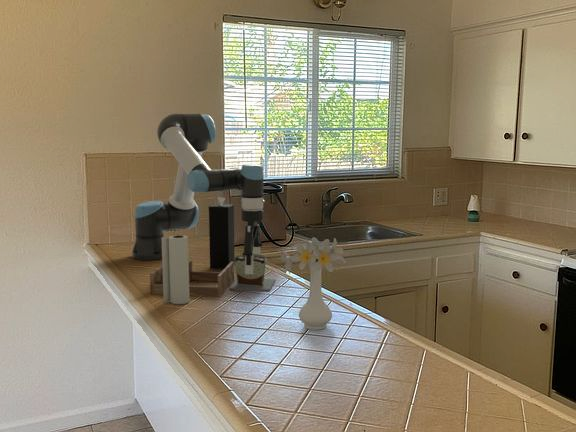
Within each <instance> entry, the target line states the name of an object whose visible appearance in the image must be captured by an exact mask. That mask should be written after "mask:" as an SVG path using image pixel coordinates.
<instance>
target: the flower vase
mask: <svg viewBox="0 0 576 432" xmlns="http://www.w3.org/2000/svg"><path fill="white" fill-rule="evenodd" d="M310 240H311V241H310ZM330 241H331V240H330V239H327V238H326V239H324V240H323V241H321V243H320V240H318V239H317V238H316V237H314V236H313V237H311V239H308V241H307V243H306V245H305V247H304V246H303V244H302V243H297V244H296V251H297V252H298V254H293V255H292V256H290V255H289V253H287V252H286V251H285V250H284V249H283V248H282V247H280V251H281V252H282V253H280V255H279V256H280V258H281V260H282V261H284V262H285V264H284V270H285V272H286V273H287V272H288V274H289V275H290V274H291V270H292V265H293V262H294V264H296V263H298V262H299V265H298V268H299V270H301V271H302V270H304V269H305V268H306V266H307V264H308V266H309V271H310V272H309V273H310V282H309V295H308V298H307V301H306V302H305V304H304V305H303V306H302V307H301V308H300V310H299V313H298V319H299V320H300V321H301V323H302V324H304V325H303V326H304V327H305V328H306V329H307V330H311V331H321V330H325V329H326V328H327V324H328V323H330V322H331V320H332V318H333V313H332V309H330V307H329V306H328V305H327V303H325V300H324V298H323V294H322V291H323V290H322V272H323V271H322V269H323V267H324V268H325V269H326V271H328V272H329V273H333V272H334V265H333V264H332V263H333V262H335V261H338V260H340V261H341V262H343V263H344V264H346V263H347V262H346V260H345V258H344V257H343V256H342V255H343V254H344V248H342V247H340V246H339V247H338V241H337V239H336V237H334V238H333V242H331V246H330V245H329V244H330ZM310 242H311V243H310Z"/></svg>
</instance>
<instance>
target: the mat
mask: <svg viewBox="0 0 576 432" xmlns="http://www.w3.org/2000/svg"><path fill="white" fill-rule="evenodd" d="M276 281H277V280H276V278H264V284H263V287H261V286H250V285H239V284H237V278H236V280H234V281H233V283H232V284H231V285H230V286H229V287H228V290H229V291H253V292H254V291H255V292H256V291H257V292H271V290H272V288H273V286H274V284H275V283H276Z"/></svg>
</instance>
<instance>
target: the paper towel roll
mask: <svg viewBox="0 0 576 432" xmlns="http://www.w3.org/2000/svg"><path fill="white" fill-rule="evenodd" d="M161 261H162V262H161V263H162V264H161V266H162V267H163V294H162V295H163V303H168V302H170V303H171V304H174V305H184V304H188V303H190V295H189V286H190V282H189V262H188V261H189V236H188V235H180V234H179V235H170V236H169V235H168V236H164V237H163V238H162V259H161Z"/></svg>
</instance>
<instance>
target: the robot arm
mask: <svg viewBox="0 0 576 432" xmlns="http://www.w3.org/2000/svg"><path fill="white" fill-rule="evenodd" d="M216 129H217V128H216V125H215V121H214V119H213V118H212V117H211V116H210V115H209V114H206V113H205V114H203V113H171V114H169V115H167V116H165V117H164V118H163V119H162V120H161V121H160V123H159V124H158V127H157V131H156V135H157V138H158V141H159V142H160V144H161V146H163V148H164V149H167V150H169V151H170V152H171V154H172V155H173V157H174V158H175V160H176V161H177V163H178V166H177V167H178V168H177V172H176V178H175V182H174V189H173V192H172V193H173V194H172V195H171V196H169V198H168V201H167V203H163V201H161V200H150V201H144V202H141V203H139V204H136V206H135V207H134V225H135V230H134V231H135V241H134V244H133V248H132V250H131V252H132V253H131V258H132V259H134V260H139V261H154V260H155V261H156V260H162V238H163V237H165V235H164V234H165V233H164V232H167V231H176V230H187V229H192V228H193V227H195V226H196V225H197V223H198V220H199V216H200V215H199V211H200V210H199V206H198V204H197V203H196V200H195V199H194V197H195V193H207V192H223V191H237V190H238V191H241V209H242V210H241V220H242V221H243V222H247V225H245V227H244V228H245V232H244V233H245V236H244V244H243V245H244V247H243V252H242V254H243V255H244V256H245V274H253V254H259V255H261V247H263V243H262V239H261V229H260V227H261V226H260V222H262V221H263V220H264V210H263V209H264V203H266V200H265V199H264V178H265V177H264V167H263V166H262V165H261V164H255V163H253V164H252V163H250V164H249V163H248V164H242V166H241V168H239V167H230V168H229V167H228V168H224V169H223V168H221V169H211V168H210V167H209V165H208V164H207V163H206V161H204V159H203V153H205V151H207V150H208V145H209V144H212V143H214V142H215V141H216V136H217V131H216Z"/></svg>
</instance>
